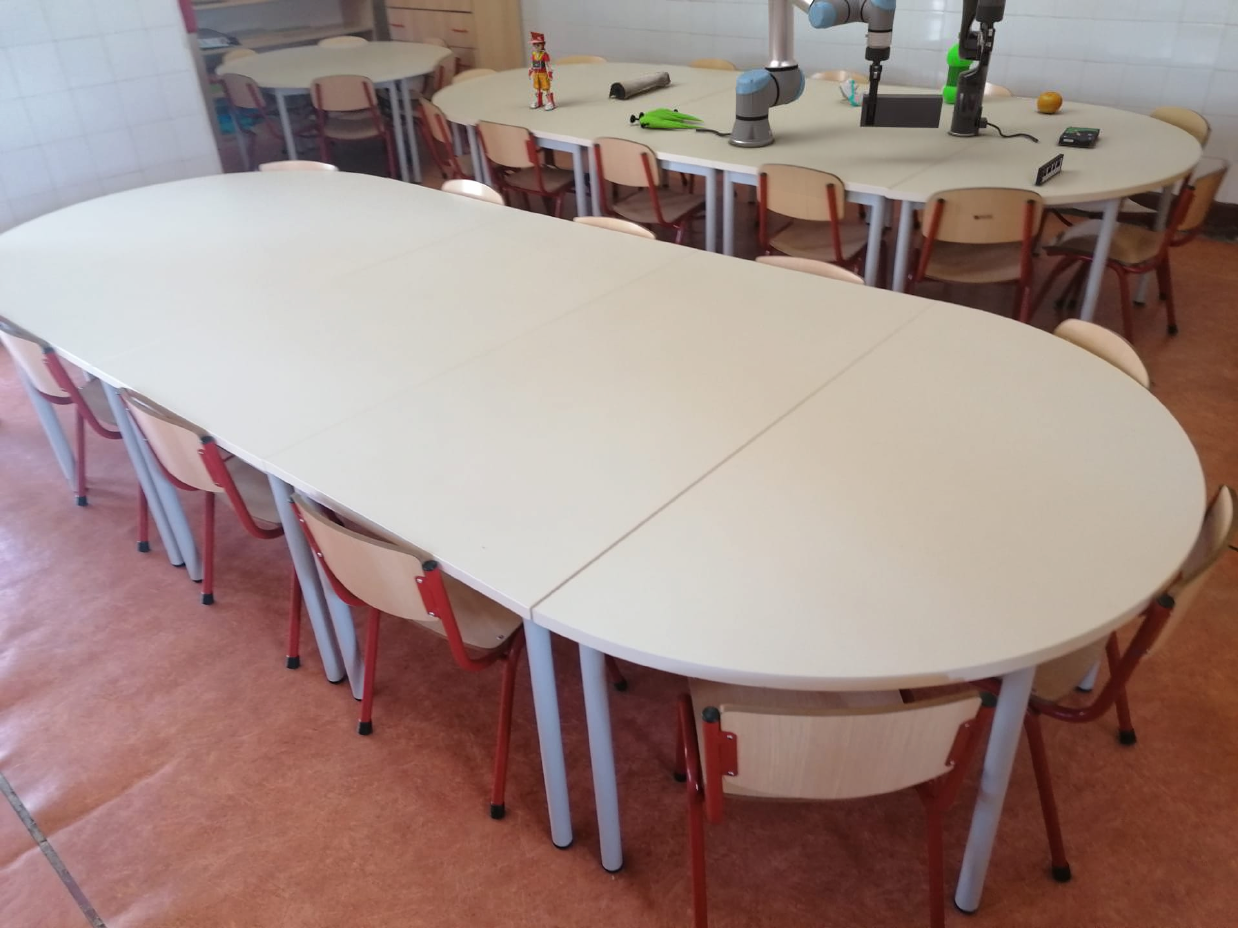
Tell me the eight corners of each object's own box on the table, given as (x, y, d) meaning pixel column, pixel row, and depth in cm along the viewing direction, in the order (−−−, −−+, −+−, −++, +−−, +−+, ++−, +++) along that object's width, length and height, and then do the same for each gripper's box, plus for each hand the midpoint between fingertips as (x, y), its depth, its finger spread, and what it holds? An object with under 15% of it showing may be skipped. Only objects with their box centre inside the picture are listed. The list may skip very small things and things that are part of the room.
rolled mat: (651, 76, 408) (662, 61, 399) (662, 93, 408) (674, 79, 400) (605, 92, 391) (616, 77, 383) (617, 110, 391) (628, 95, 383)
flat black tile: (1039, 185, 269) (1043, 168, 266) (1035, 184, 270) (1038, 168, 267) (1060, 170, 279) (1064, 154, 277) (1056, 169, 280) (1060, 153, 277)
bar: (937, 124, 291) (942, 94, 286) (938, 128, 288) (943, 98, 282) (860, 123, 297) (863, 93, 291) (859, 127, 293) (862, 97, 288)
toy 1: (525, 109, 381) (517, 32, 364) (534, 104, 388) (527, 28, 371) (550, 110, 377) (543, 32, 360) (559, 105, 384) (553, 28, 367)
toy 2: (619, 127, 344) (687, 140, 332) (619, 113, 342) (688, 126, 329) (655, 115, 365) (720, 127, 352) (656, 102, 362) (722, 114, 350)
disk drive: (1091, 148, 296) (1098, 136, 306) (1093, 140, 295) (1100, 128, 305) (1057, 145, 301) (1065, 133, 311) (1059, 137, 299) (1067, 125, 310)
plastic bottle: (973, 101, 354) (984, 32, 339) (955, 106, 349) (966, 36, 335) (952, 97, 361) (962, 29, 346) (934, 102, 356) (944, 33, 342)
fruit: (1033, 104, 332) (1048, 84, 329) (1031, 108, 340) (1046, 88, 337) (1052, 117, 331) (1068, 97, 327) (1050, 120, 338) (1065, 100, 335)
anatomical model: (834, 77, 364) (859, 70, 363) (837, 103, 370) (861, 96, 369) (845, 85, 351) (870, 78, 351) (847, 112, 357) (872, 105, 357)
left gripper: (866, 40, 288) (858, 115, 302) (865, 52, 274) (857, 130, 288) (890, 40, 286) (881, 116, 300) (890, 52, 273) (881, 130, 286)
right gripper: (1009, 6, 250) (998, 68, 260) (1002, -2, 262) (991, 58, 271) (980, 7, 252) (971, 69, 261) (974, -1, 263) (965, 59, 272)
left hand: (869, 123), depth 294 cm, fingers closed on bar, 4 cm apart
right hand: (981, 63), depth 266 cm, fingers open, 8 cm apart
